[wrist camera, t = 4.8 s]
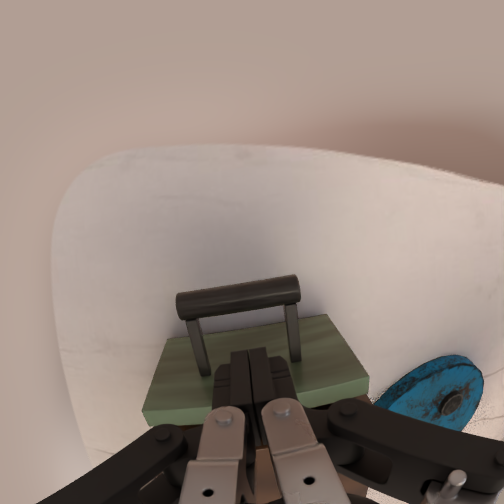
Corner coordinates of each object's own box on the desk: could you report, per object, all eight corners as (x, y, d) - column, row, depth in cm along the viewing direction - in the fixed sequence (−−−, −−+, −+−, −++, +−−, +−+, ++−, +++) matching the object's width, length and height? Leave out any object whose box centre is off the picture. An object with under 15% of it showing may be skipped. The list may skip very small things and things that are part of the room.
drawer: (149, 273, 19) (106, 325, 12) (321, 245, 20) (371, 283, 12) (211, 462, 24) (209, 527, 16) (329, 443, 24) (351, 505, 17)
